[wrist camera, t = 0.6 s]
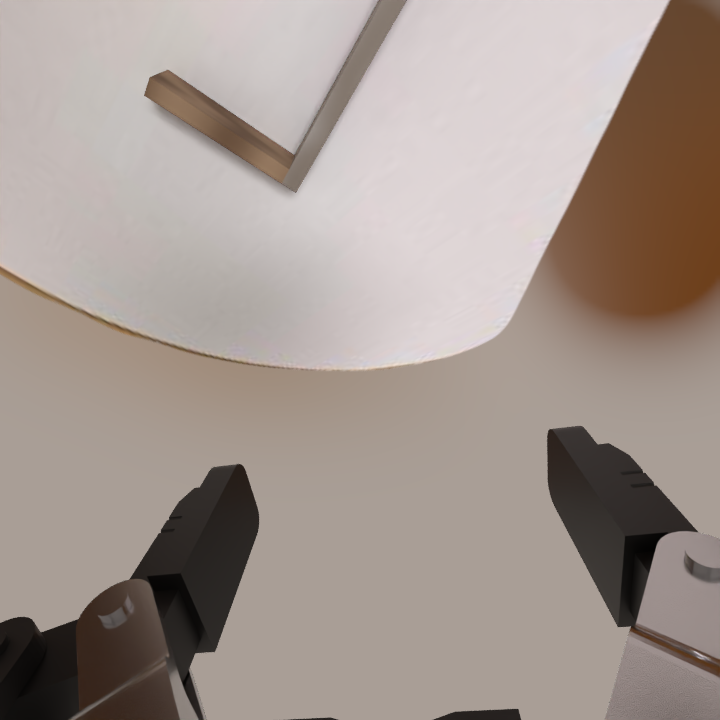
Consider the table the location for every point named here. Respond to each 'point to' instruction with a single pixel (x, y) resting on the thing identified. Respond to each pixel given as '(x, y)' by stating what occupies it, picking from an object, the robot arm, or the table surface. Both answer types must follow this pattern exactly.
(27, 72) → the table surface
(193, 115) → the walnut bay
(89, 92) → the table surface
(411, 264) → the table surface
